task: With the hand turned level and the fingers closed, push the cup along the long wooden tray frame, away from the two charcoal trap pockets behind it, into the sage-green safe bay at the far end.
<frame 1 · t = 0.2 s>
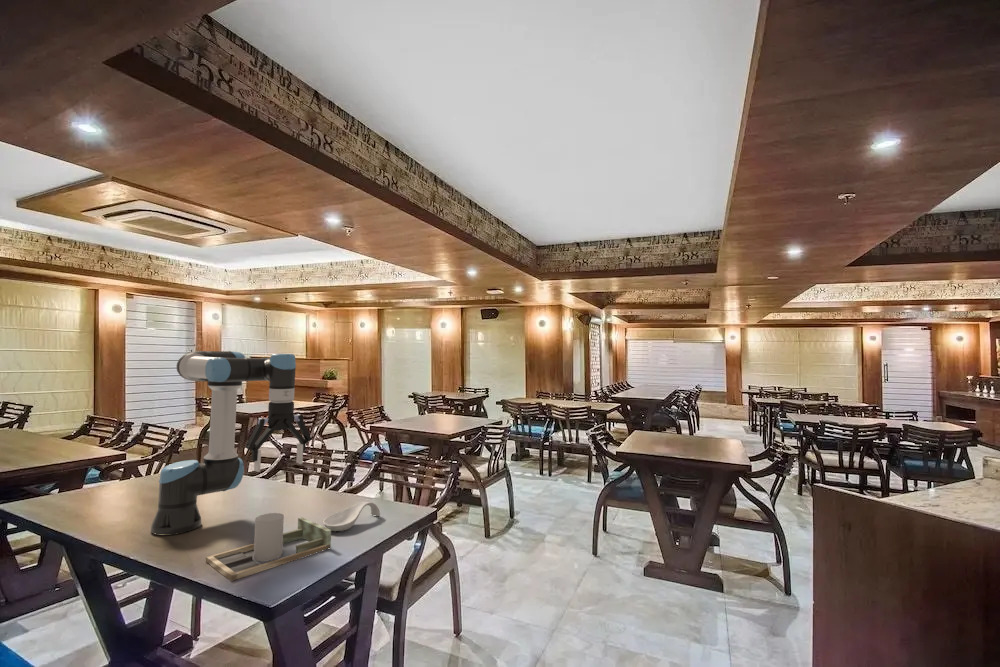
hand: (279, 467, 152), 27 cm above the table, tool pointing down, fingers open, 13 cm apart
wooden tray frame: (264, 556, 148), on the table
spoon rest: (352, 525, 179), on the table
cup: (268, 556, 149), resting in wooden tray frame
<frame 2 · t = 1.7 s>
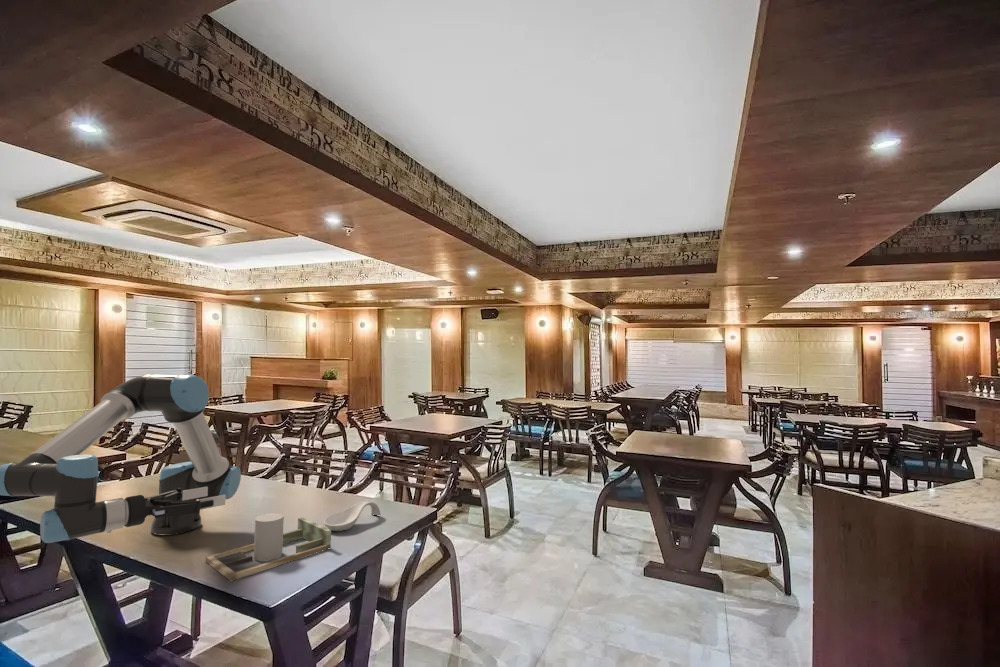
hand: (215, 495, 138), 22 cm above the table, tool horizontal, fingers open, 12 cm apart
nothing on the table moved.
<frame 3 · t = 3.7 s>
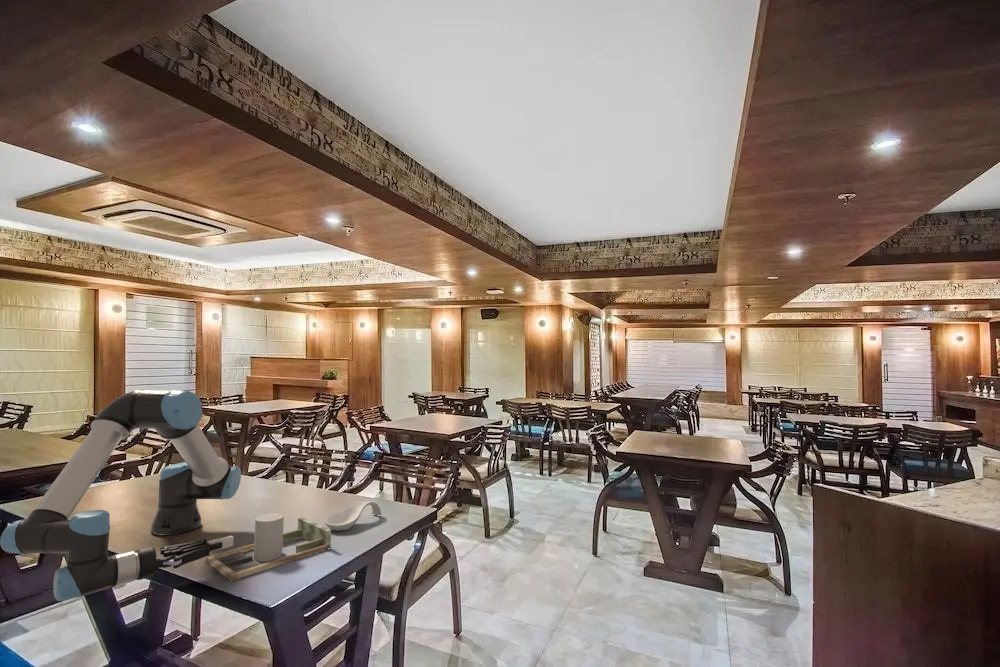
hand: (232, 540, 141), 8 cm above the table, tool horizontal, fingers closed
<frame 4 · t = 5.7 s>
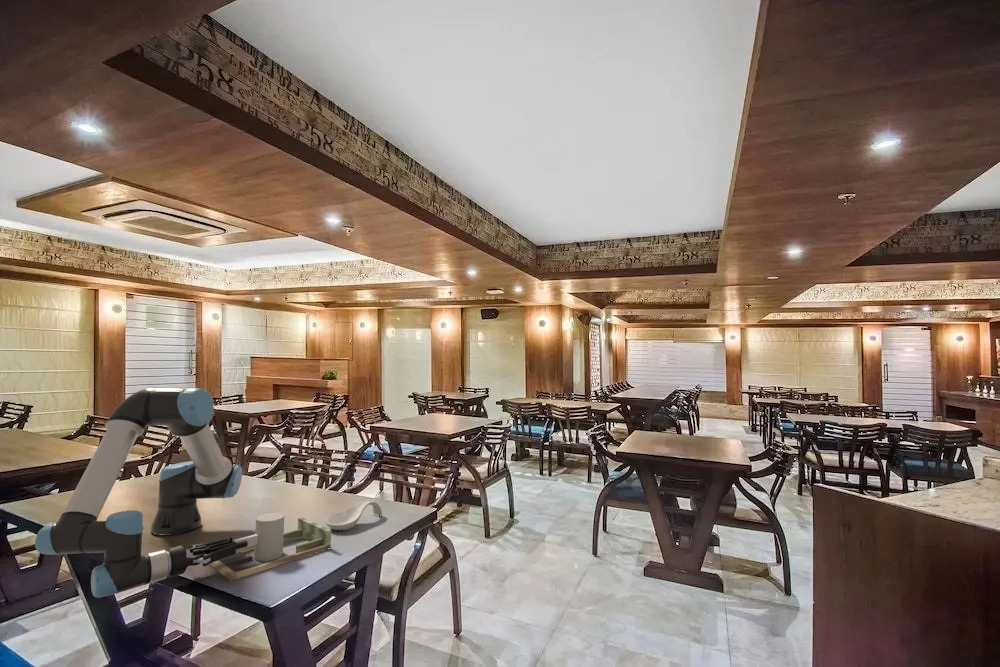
hand: (256, 539, 146), 6 cm above the table, tool horizontal, fingers closed
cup: (268, 556, 149), resting in wooden tray frame, touching gripper
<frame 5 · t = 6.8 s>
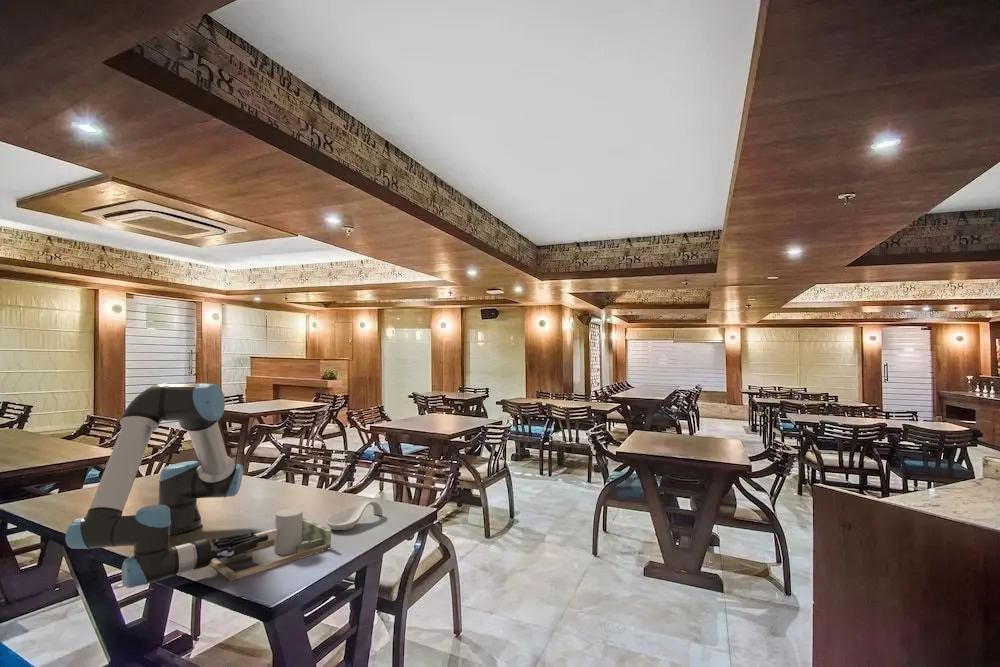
hand: (276, 533, 151), 6 cm above the table, tool horizontal, fingers closed
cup: (287, 550, 154), resting in wooden tray frame, touching gripper
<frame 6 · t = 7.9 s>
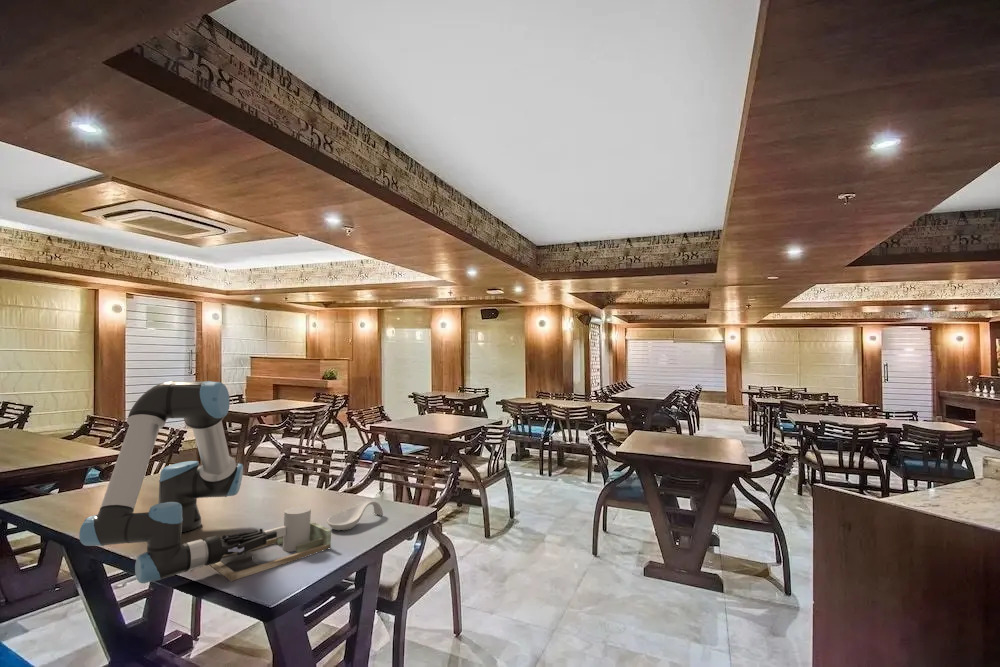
hand: (284, 530, 153), 7 cm above the table, tool horizontal, fingers closed
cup: (296, 547, 157), resting in wooden tray frame, touching gripper
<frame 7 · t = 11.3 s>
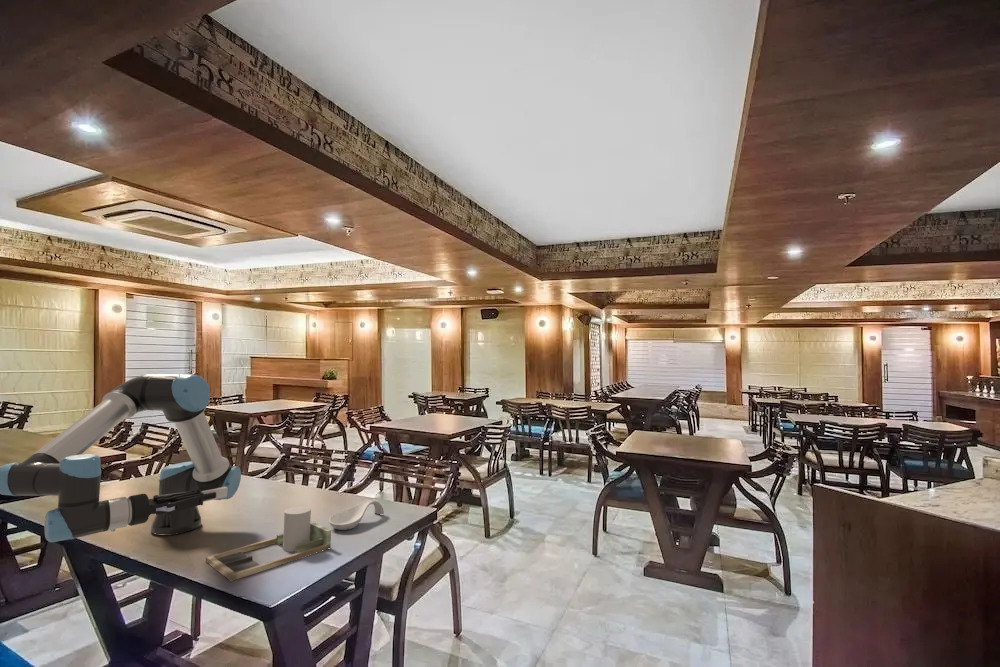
hand: (226, 491, 140), 23 cm above the table, tool horizontal, fingers closed
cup: (296, 547, 157), resting in wooden tray frame
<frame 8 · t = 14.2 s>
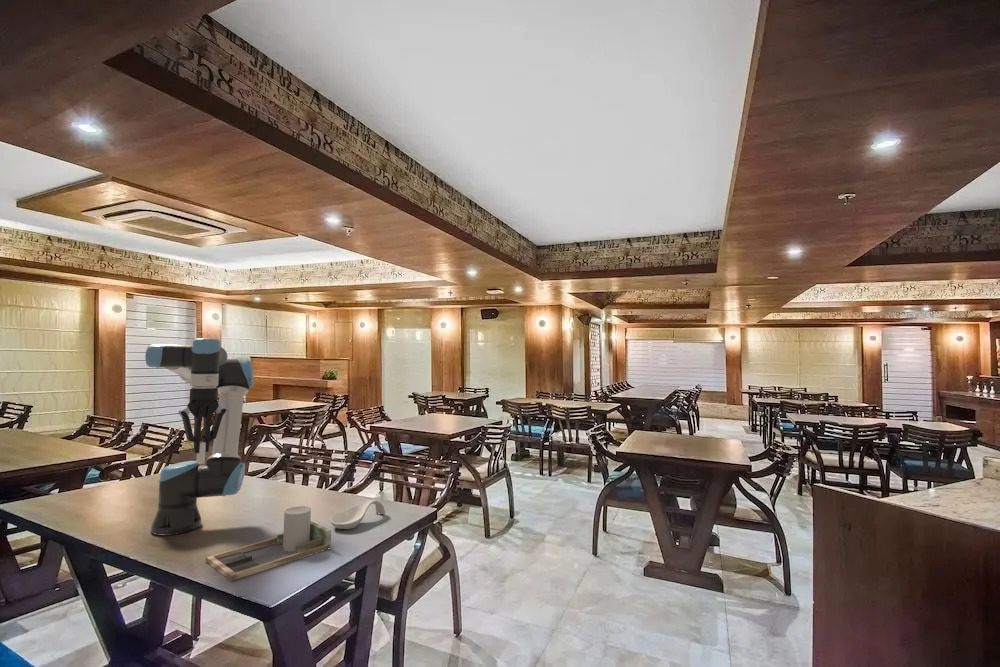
hand: (200, 463, 147), 29 cm above the table, tool pointing down, fingers closed
at the end: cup inside the target area (0.4 cm from its centre), resting in wooden tray frame; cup tilted 0° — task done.
